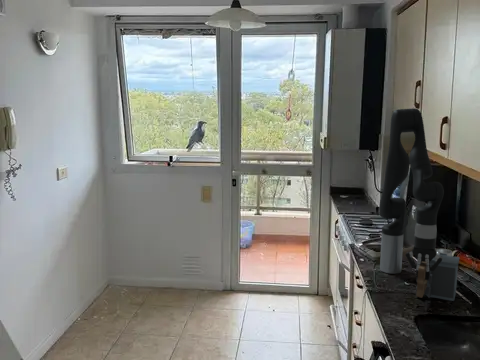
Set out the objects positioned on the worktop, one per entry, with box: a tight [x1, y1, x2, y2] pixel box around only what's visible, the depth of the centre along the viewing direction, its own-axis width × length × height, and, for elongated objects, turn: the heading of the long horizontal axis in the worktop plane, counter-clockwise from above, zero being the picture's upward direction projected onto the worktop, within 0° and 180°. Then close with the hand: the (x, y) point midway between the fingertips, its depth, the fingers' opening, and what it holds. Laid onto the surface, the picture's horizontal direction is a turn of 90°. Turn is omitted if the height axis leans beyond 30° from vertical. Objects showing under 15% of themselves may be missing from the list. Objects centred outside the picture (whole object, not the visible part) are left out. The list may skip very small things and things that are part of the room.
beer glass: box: [435, 248, 453, 256], centre depth 200 cm, size 7×7×15 cm
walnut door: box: [416, 262, 427, 298], centre depth 182 cm, size 12×3×11 cm, turn 152°
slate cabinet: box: [415, 254, 460, 302], centre depth 190 cm, size 12×14×15 cm
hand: (422, 279), depth 183 cm, fingers closed on walnut door, 2 cm apart
